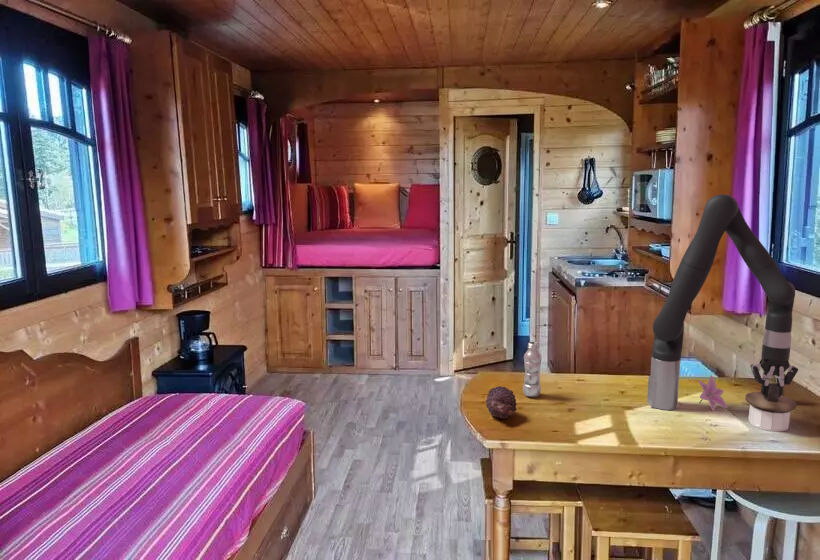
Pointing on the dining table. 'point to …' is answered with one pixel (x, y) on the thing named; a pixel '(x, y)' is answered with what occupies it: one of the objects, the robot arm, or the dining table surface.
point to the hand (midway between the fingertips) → (771, 395)
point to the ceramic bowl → (769, 419)
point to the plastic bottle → (532, 370)
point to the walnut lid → (771, 400)
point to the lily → (712, 394)
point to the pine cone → (501, 402)
